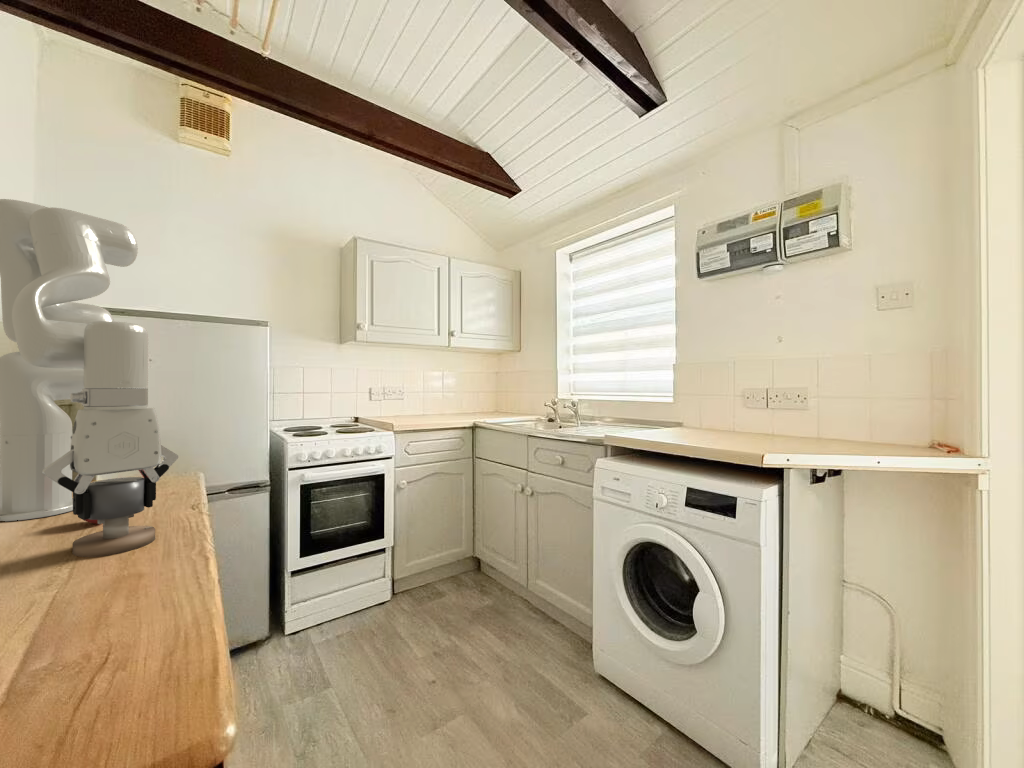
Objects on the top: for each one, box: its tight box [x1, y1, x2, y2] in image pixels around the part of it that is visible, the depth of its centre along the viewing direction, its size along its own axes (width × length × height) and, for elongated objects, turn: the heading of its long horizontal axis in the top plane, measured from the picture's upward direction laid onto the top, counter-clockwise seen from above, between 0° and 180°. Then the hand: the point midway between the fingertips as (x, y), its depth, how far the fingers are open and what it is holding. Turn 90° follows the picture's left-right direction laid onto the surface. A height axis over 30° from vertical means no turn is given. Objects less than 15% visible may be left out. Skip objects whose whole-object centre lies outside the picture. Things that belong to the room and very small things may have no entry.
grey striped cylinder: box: [87, 476, 145, 520], centre depth 68 cm, size 7×8×5 cm
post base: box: [72, 514, 156, 558], centre depth 68 cm, size 10×10×5 cm
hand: (116, 511), depth 67 cm, fingers closed on grey striped cylinder, 6 cm apart
